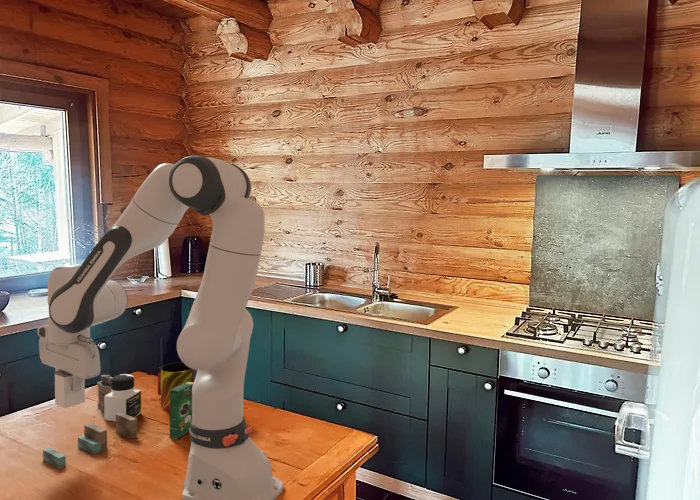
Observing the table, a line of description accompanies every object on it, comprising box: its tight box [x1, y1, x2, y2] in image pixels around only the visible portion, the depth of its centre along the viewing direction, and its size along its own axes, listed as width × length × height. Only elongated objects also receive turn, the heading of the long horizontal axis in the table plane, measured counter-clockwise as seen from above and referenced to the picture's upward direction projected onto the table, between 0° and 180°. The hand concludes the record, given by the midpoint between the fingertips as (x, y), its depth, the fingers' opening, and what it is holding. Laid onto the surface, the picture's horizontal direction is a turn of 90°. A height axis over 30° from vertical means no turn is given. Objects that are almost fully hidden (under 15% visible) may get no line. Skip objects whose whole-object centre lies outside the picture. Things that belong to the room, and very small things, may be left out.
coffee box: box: [169, 382, 194, 440], centre depth 143 cm, size 8×3×13 cm, turn 161°
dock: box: [42, 412, 138, 469], centre depth 133 cm, size 7×20×5 cm, turn 147°
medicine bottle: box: [103, 373, 142, 422], centre depth 152 cm, size 7×7×12 cm
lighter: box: [96, 374, 114, 412], centre depth 158 cm, size 8×3×10 cm, turn 55°
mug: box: [157, 361, 195, 413], centre depth 162 cm, size 10×14×12 cm
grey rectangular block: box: [54, 370, 86, 409], centre depth 128 cm, size 4×5×8 cm
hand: (69, 388), depth 128 cm, fingers closed on grey rectangular block, 4 cm apart
